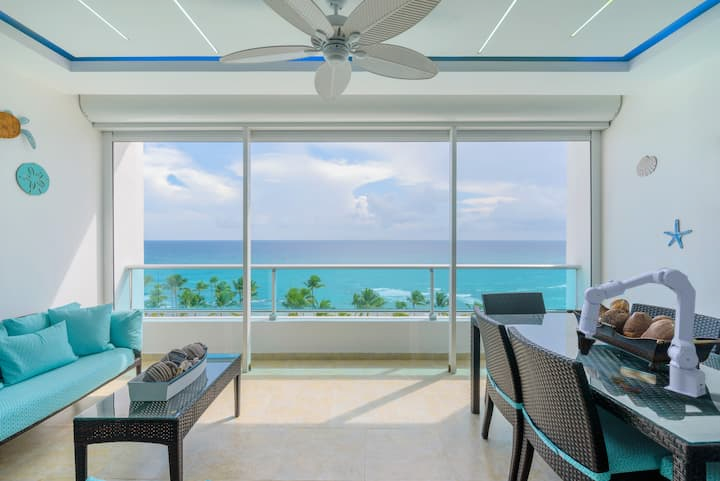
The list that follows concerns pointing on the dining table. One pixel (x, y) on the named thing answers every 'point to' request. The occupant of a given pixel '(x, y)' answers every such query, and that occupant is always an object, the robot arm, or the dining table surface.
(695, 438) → the dining table surface
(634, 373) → the stop rail
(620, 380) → the seahorse
